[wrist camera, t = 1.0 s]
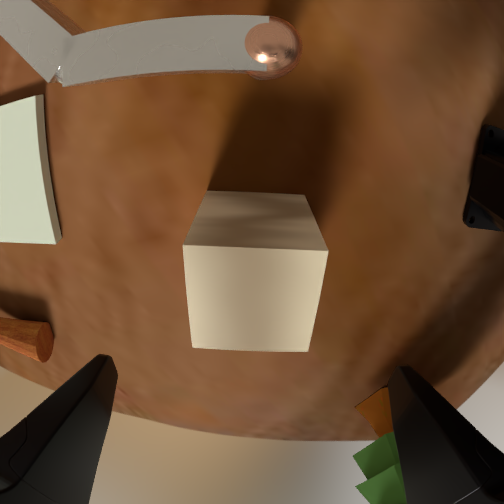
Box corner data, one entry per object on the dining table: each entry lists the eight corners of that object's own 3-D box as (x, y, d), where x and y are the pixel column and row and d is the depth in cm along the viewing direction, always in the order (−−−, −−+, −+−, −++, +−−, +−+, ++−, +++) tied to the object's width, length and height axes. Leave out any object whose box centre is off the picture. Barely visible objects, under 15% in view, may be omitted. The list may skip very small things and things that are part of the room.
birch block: (304, 194, 16) (328, 250, 11) (294, 276, 18) (307, 351, 13) (207, 190, 16) (182, 244, 11) (208, 272, 18) (192, 347, 13)
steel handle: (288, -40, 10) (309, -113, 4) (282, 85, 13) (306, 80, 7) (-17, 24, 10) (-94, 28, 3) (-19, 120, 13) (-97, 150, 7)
